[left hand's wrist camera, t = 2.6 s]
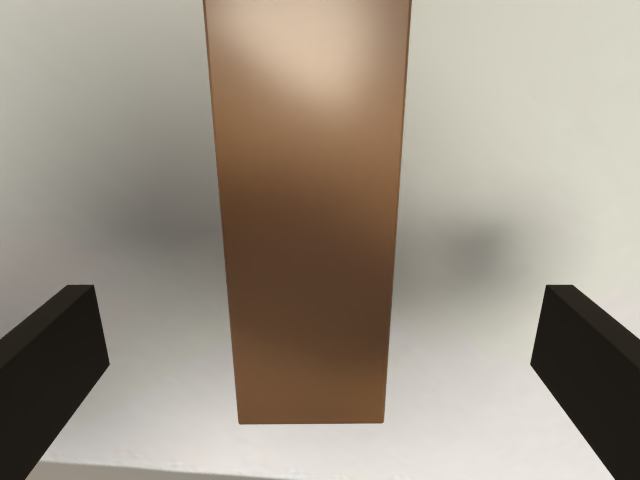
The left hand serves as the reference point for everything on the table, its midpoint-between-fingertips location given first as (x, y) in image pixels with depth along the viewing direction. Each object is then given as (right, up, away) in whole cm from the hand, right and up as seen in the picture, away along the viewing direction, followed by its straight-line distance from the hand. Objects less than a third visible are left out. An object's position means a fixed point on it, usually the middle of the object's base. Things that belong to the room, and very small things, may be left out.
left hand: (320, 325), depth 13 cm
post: (0, +34, -3) cm, 34 cm away
